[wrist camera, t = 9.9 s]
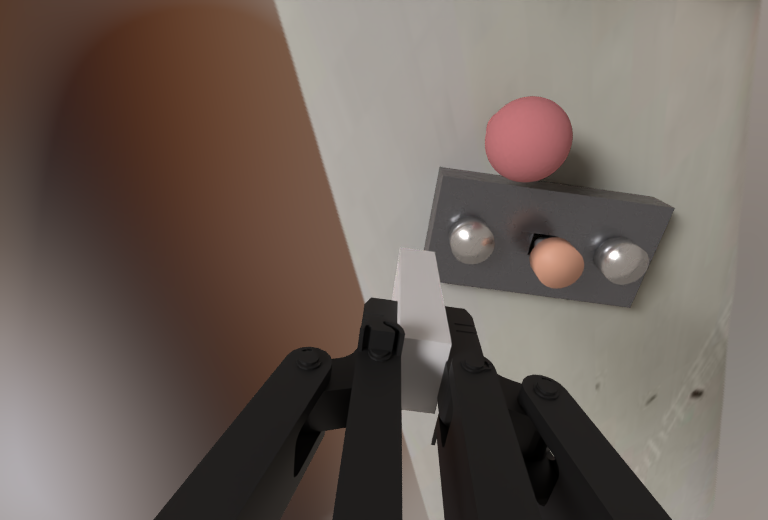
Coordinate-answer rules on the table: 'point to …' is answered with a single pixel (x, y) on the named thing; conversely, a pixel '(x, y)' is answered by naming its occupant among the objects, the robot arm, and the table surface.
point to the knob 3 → (621, 260)
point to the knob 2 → (556, 262)
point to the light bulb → (528, 139)
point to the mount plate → (540, 231)
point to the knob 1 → (471, 240)
